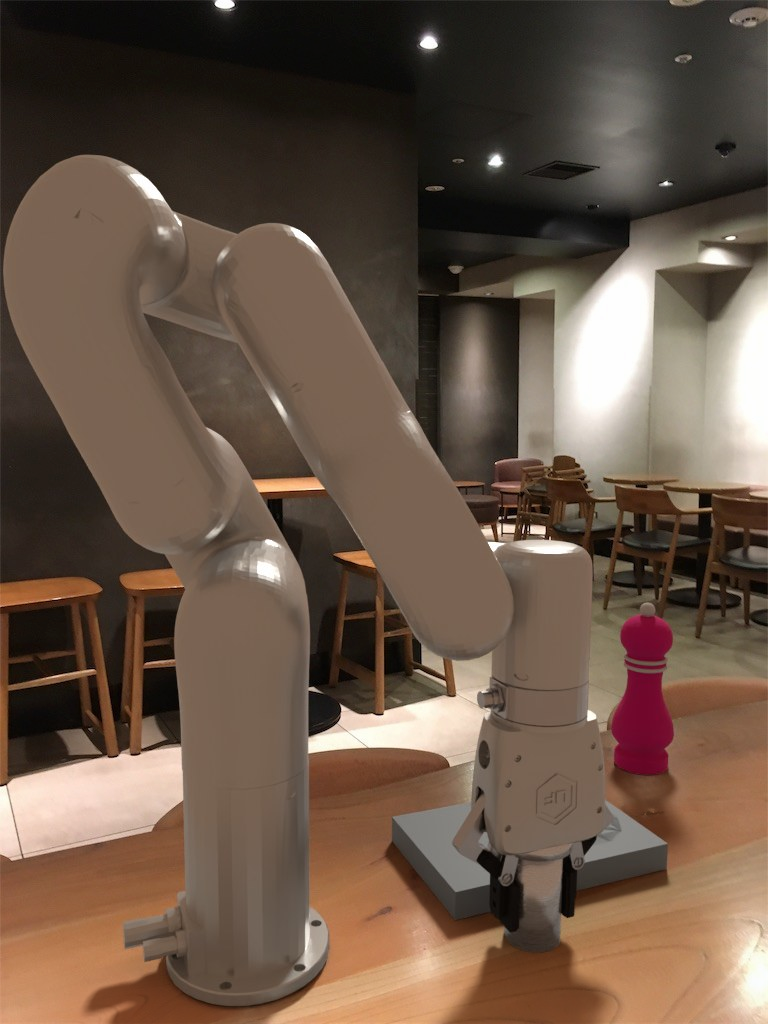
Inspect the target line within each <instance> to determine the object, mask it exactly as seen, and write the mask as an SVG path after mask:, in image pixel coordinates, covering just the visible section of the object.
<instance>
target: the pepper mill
mask: <svg viewBox="0 0 768 1024" xmlns="http://www.w3.org/2000/svg"><path fill="white" fill-rule="evenodd" d="M639 613H640V614H637V615H633V616H632V617H629V618H628V619H627V620H626V621H624V623H623V625H622V627H621V629H620V635H619V639H620V643H621V646H622V647H623V649H625V651H626V652H625V653H624V654H623V662H622V663H623V667H625V668H626V671H627V672H626V674H627V680H626V688H625V691H624V694H623V695H622V697H621V700H620V702H619V703H618V705H617V707H616V709H615V711H614V713H613V715H612V720H611V725H610V727H611V728H610V729H611V730H610V731H611V734H612V736H613V738H614V739H615V740H616V742H617V743H618V744H616V745H615V747H614V752H613V762H614V764H615V765H616V766H617V767H618V768H620V769H621V770H623V771H625V772H628V773H631V774H636V775H642V776H643V775H644V776H654V775H656V776H657V775H660V774H663V773H665V772H666V771H667V770H668V768H669V757H670V756H669V753H668V751H667V750H666V748H667V747H669V746H670V745H671V743H672V742H673V740H674V737H675V733H674V732H675V730H674V723H673V720H672V715H671V714H670V712H669V709H668V706H667V704H666V702H665V699H664V695H663V687H662V686H663V683H662V682H663V681H662V680H663V675H664V672H665V671H667V669H668V664H667V662H668V658H667V656H666V654H667V653H668V652H669V651H670V650H671V648H672V647H673V645H674V644H673V642H674V635H673V634H674V633H673V631H672V628H671V626H670V625H669V623H668V622H666V621H665V620H664V619H663V618H661V617H659V616H656V615H655V614H656V606H655V605H654V604H653V603H651V602H644V603H643V604H641V605H640V606H639Z"/></svg>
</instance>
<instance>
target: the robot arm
mask: <svg viewBox="0 0 768 1024" xmlns="http://www.w3.org/2000/svg"><path fill="white" fill-rule="evenodd" d="M2 267H3V269H2V271H3V272H2V273H3V287H4V294H5V299H6V300H5V301H6V305H7V309H8V312H9V316H10V320H11V323H12V326H13V329H14V331H15V333H16V336H17V338H18V340H19V343H20V345H21V348H22V349H23V351H24V353H25V355H26V357H27V359H28V362H29V363H30V365H31V366H32V369H33V370H34V372H35V374H36V376H37V377H38V379H39V381H40V383H41V384H42V386H43V389H44V390H45V392H46V393H47V396H48V397H49V398H50V401H51V403H52V404H53V406H54V408H55V410H56V412H57V413H58V415H59V417H60V418H61V421H62V423H63V425H64V426H65V428H66V431H67V433H68V435H69V436H70V438H71V440H72V441H73V444H74V445H75V447H76V448H77V450H78V452H79V454H80V455H81V458H82V459H83V461H84V463H85V464H86V466H87V467H88V470H89V471H90V473H91V475H92V477H93V478H94V480H95V482H96V483H97V486H98V487H99V489H100V491H101V493H102V495H103V497H104V499H105V500H106V502H107V504H108V506H109V508H110V510H111V512H112V514H113V516H114V518H115V520H116V522H117V523H118V525H119V526H120V527H121V529H122V530H123V532H124V533H125V534H126V535H127V536H128V537H129V538H130V539H131V540H133V542H135V543H136V544H138V545H139V546H141V547H143V548H145V549H146V550H149V551H152V552H153V553H157V554H162V555H164V556H165V557H166V559H167V561H168V562H169V564H170V566H171V567H172V570H173V571H174V573H175V575H176V576H177V578H178V580H179V581H180V583H181V585H182V586H183V588H184V591H183V594H182V596H181V599H180V602H179V605H178V610H177V613H176V617H175V625H174V639H173V646H174V648H173V649H174V662H175V671H176V672H175V673H176V682H177V690H178V692H177V693H178V703H179V705H178V706H179V719H180V744H181V745H180V747H181V749H180V750H181V770H182V798H183V799H182V801H183V803H182V804H183V807H182V809H183V837H184V838H183V839H184V840H183V842H184V845H183V846H184V879H185V880H184V882H185V883H184V885H185V886H184V887H185V888H184V889H185V890H182V891H179V892H177V894H176V902H177V904H176V905H177V906H174V907H169V908H166V909H164V914H159V915H154V916H149V917H147V916H144V917H139V918H134V919H131V920H125V921H122V939H123V947H124V950H128V949H133V948H137V947H142V956H143V963H146V962H151V961H154V960H160V959H162V958H163V957H165V962H166V963H165V964H166V966H165V967H166V970H167V973H168V977H169V978H170V979H171V981H172V983H173V984H174V985H175V986H176V987H177V988H179V990H180V991H182V992H183V993H185V995H188V996H190V997H192V998H194V999H196V1000H198V1001H201V1002H204V1003H208V1004H211V1005H218V1006H225V1007H247V1006H254V1005H261V1004H265V1003H268V1002H270V1003H271V1002H273V1001H277V1000H279V999H283V998H284V997H287V996H289V995H291V994H293V993H294V992H297V991H298V990H300V989H301V988H304V987H305V986H306V985H307V984H308V983H310V982H311V981H312V980H314V978H316V976H317V975H318V974H319V973H320V972H321V970H322V969H323V968H324V966H325V964H326V962H327V959H328V958H329V953H330V931H329V927H328V924H327V923H326V921H325V920H324V918H323V916H322V915H321V914H320V913H319V912H318V911H317V910H316V909H315V908H313V907H312V906H311V905H310V776H309V775H310V772H309V771H310V764H309V763H310V757H309V685H310V684H309V682H310V681H309V680H310V657H311V655H310V654H311V625H310V623H311V622H310V612H309V601H308V594H307V589H306V582H305V578H304V575H303V572H302V569H301V567H300V564H299V563H298V561H297V559H296V556H295V555H294V553H293V551H292V550H291V548H290V546H289V545H288V542H287V541H286V539H285V537H284V535H283V533H282V531H281V530H280V528H279V526H278V524H277V522H276V521H275V519H274V517H273V515H272V513H271V512H270V509H269V508H268V506H267V504H266V502H265V500H264V499H263V497H262V494H260V491H259V490H258V488H257V486H256V484H255V482H254V480H253V479H252V477H251V474H250V473H249V471H248V470H247V469H248V468H246V466H245V465H244V463H243V461H242V459H241V458H240V455H239V454H238V453H237V451H236V450H235V448H234V447H233V446H232V444H230V442H228V440H226V439H225V438H224V436H222V435H221V434H219V433H218V432H216V431H215V430H213V429H211V428H209V427H207V426H206V425H205V424H204V423H203V421H202V418H201V417H200V416H199V414H198V412H197V410H196V409H195V407H194V406H193V405H192V403H191V401H190V398H188V396H187V394H186V392H185V390H184V388H183V386H182V385H181V383H180V381H179V379H178V377H177V375H176V373H175V371H174V368H173V367H172V364H171V362H170V360H169V359H168V357H167V355H166V354H165V351H164V350H163V348H162V347H161V344H160V343H159V342H158V340H157V339H156V337H155V336H154V333H153V331H152V329H151V328H150V326H149V324H148V321H147V319H146V317H145V314H146V315H148V316H151V317H155V318H159V319H162V320H165V321H168V322H170V323H173V324H177V325H179V326H182V327H186V328H188V329H192V330H195V331H197V332H200V333H204V334H206V335H209V336H213V337H216V338H219V339H222V340H226V341H229V342H233V343H236V344H238V345H239V347H240V349H241V351H242V352H243V354H244V356H245V357H246V360H247V361H248V363H249V365H250V367H251V368H252V370H253V371H254V372H255V374H256V377H257V378H258V379H259V381H260V383H261V385H262V387H263V388H264V390H265V393H267V395H268V397H269V398H270V401H272V404H273V406H274V407H275V409H276V410H277V412H278V414H279V415H280V417H281V420H282V421H283V423H284V425H285V426H286V428H287V430H288V432H289V433H290V435H291V436H292V438H293V441H294V442H295V444H296V445H297V447H298V449H299V451H300V452H301V455H302V456H303V457H304V459H305V460H306V462H307V465H308V466H309V468H310V469H311V471H312V473H313V475H314V477H315V478H316V480H317V481H318V482H319V483H320V485H321V486H322V487H323V488H324V490H326V492H327V494H328V495H329V496H330V497H331V498H332V500H333V501H334V502H335V504H336V505H337V506H338V508H339V509H340V511H341V512H342V513H343V515H344V517H345V518H346V520H347V521H348V523H349V525H350V526H351V528H352V529H353V531H354V533H355V534H356V536H357V538H358V539H359V541H360V543H361V545H362V546H363V548H364V549H365V552H366V554H367V555H368V557H369V559H370V560H371V562H372V564H373V565H374V567H375V568H376V570H377V572H378V575H380V577H381V579H382V581H383V582H384V584H385V586H386V587H387V589H388V591H389V593H390V594H391V596H392V598H393V600H394V603H396V605H397V607H398V609H399V610H400V612H401V614H402V616H403V617H404V620H405V621H406V622H407V625H408V626H409V629H410V630H411V632H412V634H413V635H414V637H415V639H416V640H417V641H418V642H419V644H421V645H422V646H423V647H424V648H425V649H426V650H427V651H428V652H431V653H433V655H436V657H437V656H438V657H440V658H443V659H446V660H451V661H458V662H459V661H460V662H461V661H462V662H464V661H471V660H472V661H473V660H476V659H479V658H481V657H484V656H486V655H488V654H490V653H491V676H489V687H488V688H486V689H485V690H482V691H478V692H477V695H476V700H477V701H476V702H477V705H478V707H479V709H482V710H483V709H489V710H490V711H488V712H485V713H484V714H483V718H482V721H481V725H480V730H479V734H478V739H477V743H476V751H475V756H474V764H473V770H472V772H473V773H472V783H471V799H470V802H471V811H470V813H469V815H468V816H467V818H466V819H465V821H464V823H463V824H462V826H461V827H460V829H459V831H458V832H457V834H456V835H455V837H454V839H453V841H452V845H453V847H454V848H455V849H456V850H457V851H458V852H459V853H460V854H461V855H463V856H464V857H466V858H468V859H470V860H471V861H473V862H476V863H477V864H479V865H481V866H482V867H483V868H484V869H485V870H486V871H487V872H488V873H490V898H489V905H490V910H491V912H490V913H491V914H492V916H494V917H495V918H496V919H497V920H498V921H499V922H500V923H501V924H502V926H503V927H505V928H506V929H507V930H508V931H509V932H510V933H511V932H515V931H517V929H518V928H519V905H520V886H519V884H518V883H517V882H516V881H515V880H514V875H515V871H516V867H517V863H518V859H519V858H517V857H515V855H520V854H525V853H530V852H534V851H537V850H540V849H545V848H550V847H554V846H559V845H563V844H572V843H573V850H572V852H571V853H570V854H569V855H568V856H566V857H564V858H563V875H562V904H561V916H562V917H564V918H566V919H570V918H573V917H575V912H576V911H575V907H576V906H575V904H576V898H577V892H578V891H577V870H578V869H581V868H582V867H583V865H584V863H585V859H584V856H585V854H586V853H587V852H588V851H589V849H590V848H591V847H592V845H593V844H594V843H595V841H596V839H597V835H600V834H601V833H602V832H603V831H604V830H605V829H606V828H607V827H608V826H609V825H610V824H611V823H612V821H613V815H612V813H611V812H610V810H609V809H608V807H607V806H606V804H605V800H606V773H605V762H604V761H605V760H604V751H603V750H604V749H603V743H602V738H601V733H600V727H599V722H598V717H597V715H596V713H595V712H594V711H591V710H589V709H588V708H589V688H590V686H589V685H590V683H589V682H590V656H591V655H590V654H591V652H590V651H591V629H592V604H593V602H592V600H593V599H592V598H593V577H594V576H593V575H594V572H593V560H592V558H591V557H592V556H591V555H590V554H589V553H588V551H587V550H586V549H585V548H584V547H582V546H580V545H578V544H577V543H576V544H575V543H573V542H567V541H562V540H561V541H560V540H550V539H524V540H515V541H511V542H494V541H488V540H487V538H486V536H485V534H484V533H483V531H482V529H481V527H480V526H479V524H478V522H477V519H476V518H475V517H474V514H473V512H471V509H470V508H469V506H468V504H467V502H466V501H465V499H464V497H463V495H462V494H461V492H460V490H459V489H458V487H457V485H456V484H455V482H454V480H453V479H452V477H451V476H450V474H449V473H448V471H447V470H446V468H445V466H444V465H443V463H442V461H441V460H440V458H439V457H438V455H437V453H436V451H435V450H434V448H433V447H432V445H431V443H430V441H429V439H428V438H427V436H426V434H425V433H424V430H423V428H422V426H421V424H420V423H419V421H418V419H417V418H416V417H415V415H414V413H413V412H412V409H410V407H409V406H408V404H407V401H405V398H404V396H403V395H402V393H401V391H400V390H399V387H398V386H397V385H396V382H395V381H394V380H393V378H392V376H391V374H390V372H389V371H388V368H387V367H386V365H385V363H384V361H383V360H382V358H381V356H380V355H379V353H378V351H377V350H376V347H375V345H374V344H373V343H374V342H372V340H371V339H370V337H369V334H368V333H367V330H366V329H365V328H364V326H363V324H362V322H361V320H360V318H359V316H358V314H357V312H356V311H355V309H354V307H353V305H352V304H351V302H350V300H349V298H348V296H347V294H346V293H345V290H344V289H343V288H342V285H341V284H340V282H339V280H338V278H337V276H336V275H335V273H334V272H333V269H332V267H331V266H330V264H329V262H328V261H327V259H326V258H325V256H324V255H323V253H322V252H321V250H320V248H319V247H318V245H316V243H314V242H313V240H311V238H310V237H309V236H308V235H307V234H305V233H304V232H302V231H301V230H300V229H297V228H296V227H293V226H290V225H288V224H284V223H277V222H267V223H261V224H256V225H253V226H251V227H248V228H246V229H244V230H242V231H240V232H238V233H235V232H232V231H230V230H226V229H222V228H220V227H217V226H213V225H212V224H209V223H206V222H203V221H201V220H198V219H195V218H192V217H190V216H188V215H185V214H181V213H179V212H177V211H173V210H172V209H171V207H170V206H169V204H168V202H166V200H165V198H164V196H163V195H162V194H161V192H160V191H159V190H158V188H157V187H156V186H155V185H154V184H153V183H152V182H151V180H149V178H147V177H146V176H145V175H143V174H142V173H141V172H139V170H138V169H136V168H134V167H132V166H130V165H129V164H127V163H125V162H123V161H121V160H118V159H116V158H113V157H109V156H105V155H98V154H97V155H96V154H80V155H75V156H72V157H70V158H66V159H63V160H62V161H59V162H57V163H55V164H54V165H53V166H52V167H50V168H49V169H48V170H47V171H45V172H44V173H43V174H41V175H40V176H39V177H38V178H37V180H36V181H35V182H34V183H33V184H32V185H31V187H30V188H29V189H28V190H27V192H26V193H25V195H24V196H23V199H22V200H21V202H20V204H19V205H18V207H17V210H16V212H15V213H14V215H13V218H12V220H11V223H10V227H9V229H8V233H7V235H6V241H5V247H4V255H3V265H2ZM484 832H487V835H488V839H489V842H488V846H487V849H486V848H485V847H484V846H483V845H482V844H479V839H480V838H481V836H482V835H483V833H484ZM501 857H502V858H501Z"/></svg>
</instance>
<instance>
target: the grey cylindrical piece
mask: <svg viewBox="0 0 768 1024" xmlns="http://www.w3.org/2000/svg"><path fill="white" fill-rule="evenodd" d="M572 850H573V843H572V844H563V845H559V846H554V847H550V848H545V849H540V850H537V851H534V852H530V853H525V854H520V855H515V857H517V858H519V859H518V863H517V867H516V871H515V875H514V880H515V881H516V882H517V883H518V884H519V886H520V905H519V928H518V929H517V931H515V932H511V933H510V932H509V931H508V930H507V929H506V928H505V927H504V926H503V927H504V930H503V931H504V932H503V933H504V937H505V939H506V941H507V942H508V943H510V945H512V946H513V947H514V948H516V949H519V950H522V951H525V952H528V953H545V952H550V951H553V949H555V948H557V946H559V944H560V942H561V934H562V933H561V932H562V931H561V930H562V929H561V928H562V927H561V925H562V914H561V904H562V875H563V858H564V857H566V856H568V855H569V854H570V853H571V852H572Z"/></svg>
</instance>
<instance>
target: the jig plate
mask: <svg viewBox="0 0 768 1024" xmlns="http://www.w3.org/2000/svg"><path fill="white" fill-rule="evenodd" d="M605 804H606V806H607V807H608V809H609V810H610V812H611V813H612V815H613V821H612V823H611V824H610V825H609V826H608V827H607V828H606V829H605V830H604V831H603V832H602V833H601V834H600V835H597V839H596V841H595V843H594V844H593V845H592V847H591V848H590V849H589V851H588V852H587V853H586V854H585V856H584V859H585V863H584V865H583V867H582V868H581V869H578V870H577V891H576V892H578V891H582V890H585V889H590V888H593V887H597V886H602V885H605V884H610V883H615V882H618V881H621V880H622V881H623V880H626V879H630V878H631V879H632V878H635V877H636V878H637V877H638V876H639V877H640V876H643V875H647V874H648V875H649V874H652V873H655V872H660V871H664V870H667V868H668V851H669V849H668V848H669V843H668V842H666V841H665V840H663V839H662V838H661V837H659V836H657V834H655V833H653V831H652V830H649V829H648V828H646V827H645V826H644V825H642V824H640V823H639V822H638V821H637V820H635V819H633V818H632V817H631V816H630V815H628V814H626V813H625V812H624V811H622V810H621V809H619V808H618V807H617V806H615V805H613V804H612V803H611V802H609V801H608V800H606V799H605ZM470 811H471V801H468V802H465V803H459V804H453V805H448V806H443V807H442V806H441V807H437V808H433V809H427V810H422V811H415V812H410V813H405V814H400V815H399V814H398V815H395V816H391V841H392V843H393V844H394V845H395V846H396V848H397V849H398V850H399V852H400V854H402V855H403V857H404V858H405V859H406V860H407V862H408V863H409V864H410V865H411V867H412V868H413V869H414V871H415V872H416V873H417V874H418V876H419V877H420V878H421V879H422V881H423V882H424V883H425V884H426V886H427V887H428V888H429V890H430V891H431V892H432V893H433V894H434V895H435V897H436V898H437V899H438V901H439V902H440V903H441V904H442V906H443V908H444V909H445V910H446V911H447V912H448V913H449V915H451V917H452V918H453V920H454V921H457V920H461V919H465V918H469V917H475V916H477V915H483V914H486V913H492V912H491V910H490V905H489V898H490V873H488V872H487V871H486V870H485V869H484V868H483V867H482V866H481V865H479V864H477V863H476V862H473V861H471V860H470V859H468V858H466V857H464V856H463V855H461V854H460V853H459V852H458V851H457V850H456V849H455V848H454V847H453V845H452V841H453V839H454V837H455V835H456V834H457V832H458V831H459V829H460V827H461V826H462V824H463V823H464V821H465V819H466V818H467V816H468V815H469V813H470ZM488 842H489V839H488V835H487V832H484V833H483V835H482V836H481V838H480V839H479V844H482V845H483V846H484V847H485V848H486V849H487V846H488ZM501 858H502V857H501Z"/></svg>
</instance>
